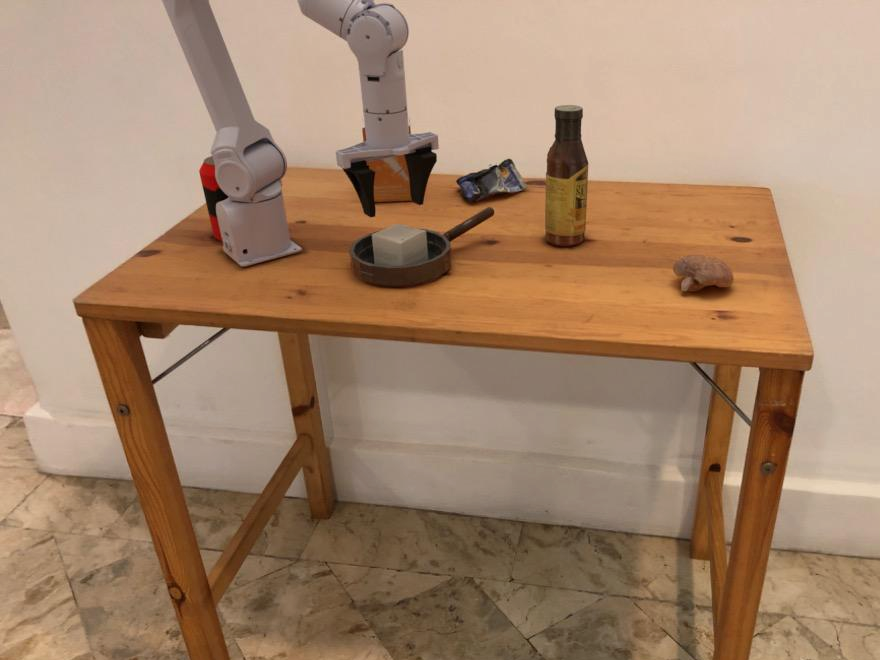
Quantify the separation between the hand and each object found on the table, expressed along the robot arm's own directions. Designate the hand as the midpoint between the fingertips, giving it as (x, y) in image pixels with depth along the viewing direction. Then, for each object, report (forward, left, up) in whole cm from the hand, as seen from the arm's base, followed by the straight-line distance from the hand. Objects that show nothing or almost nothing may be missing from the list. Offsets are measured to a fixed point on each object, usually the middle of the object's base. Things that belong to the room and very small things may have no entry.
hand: (394, 208), depth 110 cm
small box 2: (0, -1, -8) cm, 8 cm away
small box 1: (+14, +26, -9) cm, 31 cm away
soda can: (-14, +26, -9) cm, 31 cm away
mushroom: (+29, -32, -9) cm, 44 cm away
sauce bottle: (+25, -8, -9) cm, 28 cm away
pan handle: (+12, -1, -7) cm, 14 cm away
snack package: (+28, +16, -9) cm, 34 cm away
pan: (0, -1, -9) cm, 9 cm away
